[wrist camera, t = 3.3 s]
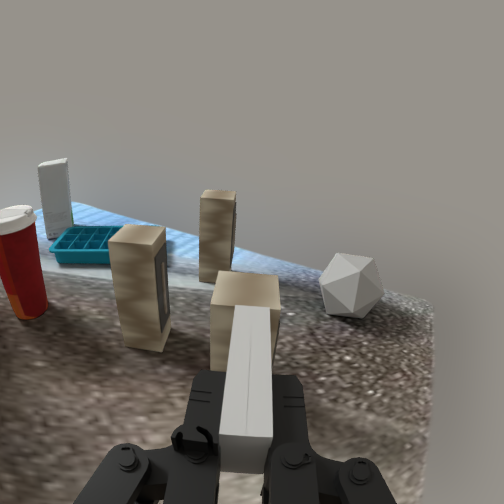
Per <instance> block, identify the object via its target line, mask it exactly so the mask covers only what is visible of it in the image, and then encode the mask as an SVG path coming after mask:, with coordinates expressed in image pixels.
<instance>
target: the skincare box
mask: <svg viewBox="0 0 504 504" xmlns="http://www.w3.org/2000/svg"><path fill="white" fill-rule="evenodd" d="M38 177H39V185H40V195H41V203H42V210H43V216H44V223H45V229H46V235H47V239H52V238H59V236H60V235H61V234H62V233H63V232H64V231H65V230H66V229H67V228H69V227H74V222H73V214H72V206H71V197H70V187H69V175H68V162H67V158H65V159H59V160H54V161H48V162H43V163H42V164H39V166H38Z"/></svg>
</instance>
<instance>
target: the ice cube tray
mask: <svg viewBox="0 0 504 504" xmlns="http://www.w3.org/2000/svg"><path fill="white" fill-rule="evenodd" d="M122 227H123V226H74V227H69V228H67V229H66V230H65V231H64V232H63V233H62V234H61V235H60V236H59V238H58V239H57V240H56V241H55V242H54V243H53V244H52V246H51V247H50V248H49V251H50V252H51V253H55V257H56V260H57V262H58V263H96V264H110V256H109V248H108V240H109V239H110V238H111V237H112V236H114V235H115V234H116V233H117V232H118V231H119V230H120V229H121V228H122ZM160 227H161V226H160Z"/></svg>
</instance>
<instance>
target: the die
mask: <svg viewBox="0 0 504 504" xmlns="http://www.w3.org/2000/svg"><path fill="white" fill-rule="evenodd" d="M319 283H320V287H321V292H322V296H323V300H324V305H325V309H326V314H330V315H338V316H346V317H354V318H364V317H365V315H366V314H367V313H368V312H369V311H370V310H371V309H372V308H373V306H374V305H375V304H376V303H377V302H378V301H379V300H380V299H381V297H382V296H383V295H384V294H385V293H384V290H383V287H382V283H381V280H380V277H379V274H378V270H377V267H376V264H375V261H374V258H369V257H363V256H356V255H350V254H343V253H336V255H335V256H334V258H333V259H332V261H331V262H330V264H329V265H328V267H327V268H326V269H325V271H324V272H323V274H322V275H321V277H320V278H319Z"/></svg>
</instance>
